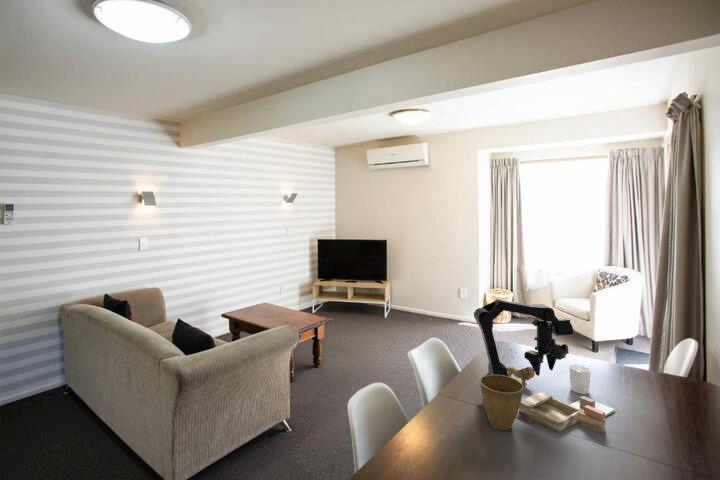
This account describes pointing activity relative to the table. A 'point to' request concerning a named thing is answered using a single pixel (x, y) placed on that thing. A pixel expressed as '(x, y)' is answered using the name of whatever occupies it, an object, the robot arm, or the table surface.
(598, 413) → the block
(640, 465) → the table surface
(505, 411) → the plant pot
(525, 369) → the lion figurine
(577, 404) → the lid
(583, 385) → the white cup
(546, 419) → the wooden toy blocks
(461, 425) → the table surface
